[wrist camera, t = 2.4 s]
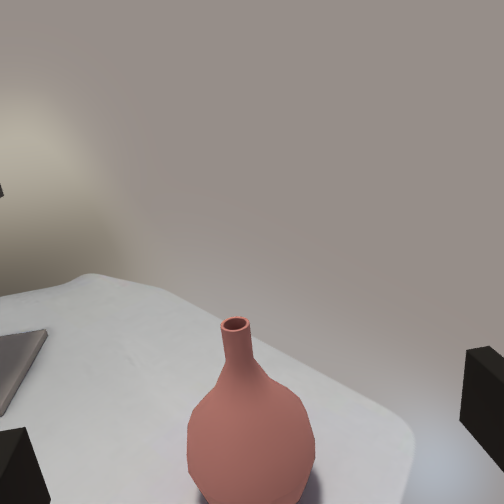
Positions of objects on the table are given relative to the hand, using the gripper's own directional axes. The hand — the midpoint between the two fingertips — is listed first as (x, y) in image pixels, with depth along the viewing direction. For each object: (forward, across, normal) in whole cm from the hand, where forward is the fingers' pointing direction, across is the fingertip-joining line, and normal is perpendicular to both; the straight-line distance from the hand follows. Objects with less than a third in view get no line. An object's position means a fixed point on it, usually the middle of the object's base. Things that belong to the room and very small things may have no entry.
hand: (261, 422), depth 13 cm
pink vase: (+10, 0, -14) cm, 17 cm away
